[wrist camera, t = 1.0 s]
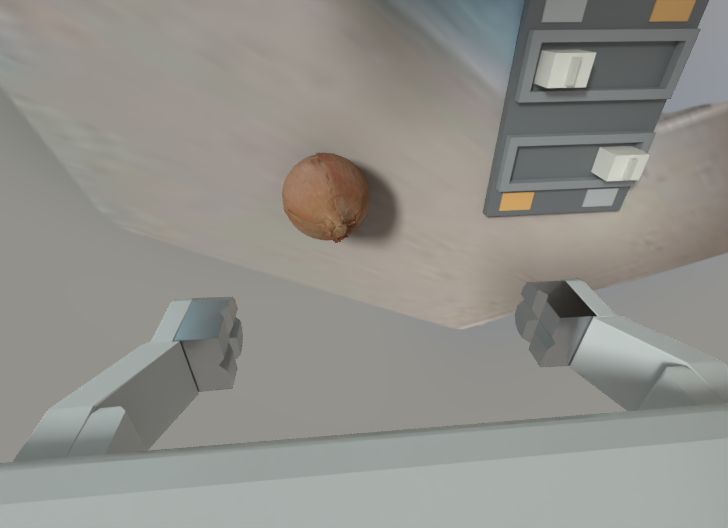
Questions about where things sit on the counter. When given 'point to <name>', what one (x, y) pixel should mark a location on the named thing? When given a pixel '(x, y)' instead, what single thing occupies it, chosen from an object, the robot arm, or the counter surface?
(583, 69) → the tab
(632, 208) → the counter surface
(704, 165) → the counter surface
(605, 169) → the tab
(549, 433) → the robot arm
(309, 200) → the onion
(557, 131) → the switch bank
